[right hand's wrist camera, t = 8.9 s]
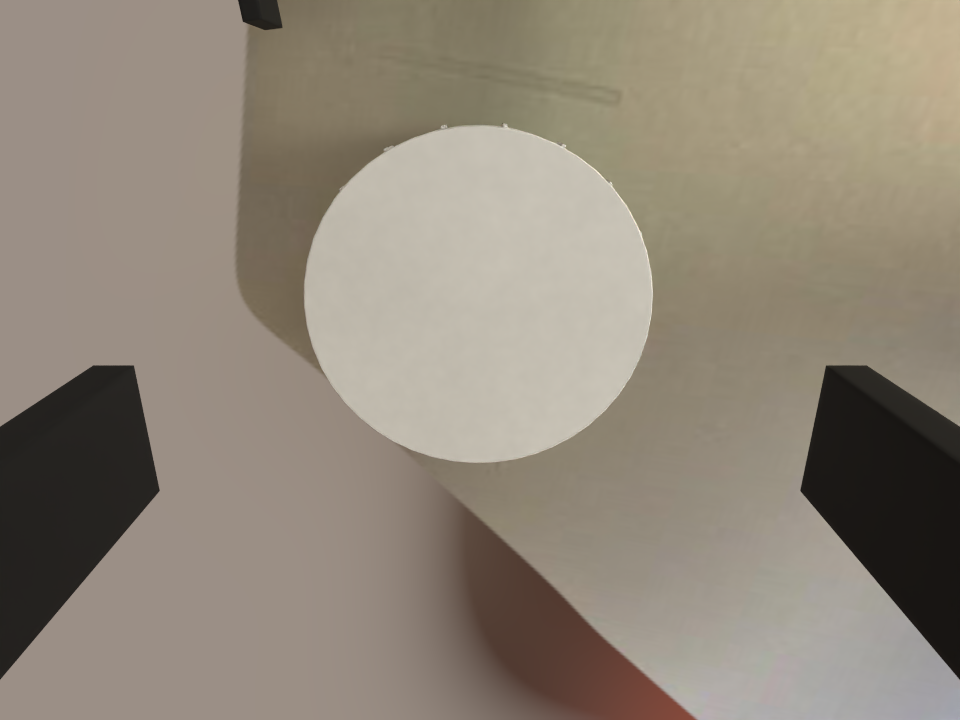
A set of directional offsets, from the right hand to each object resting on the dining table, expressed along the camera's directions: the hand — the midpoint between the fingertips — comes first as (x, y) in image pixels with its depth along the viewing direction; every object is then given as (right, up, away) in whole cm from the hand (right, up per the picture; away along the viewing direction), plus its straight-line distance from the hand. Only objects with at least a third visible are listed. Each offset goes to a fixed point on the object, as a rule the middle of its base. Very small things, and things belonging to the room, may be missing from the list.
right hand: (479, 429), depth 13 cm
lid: (0, +3, +7) cm, 7 cm away
